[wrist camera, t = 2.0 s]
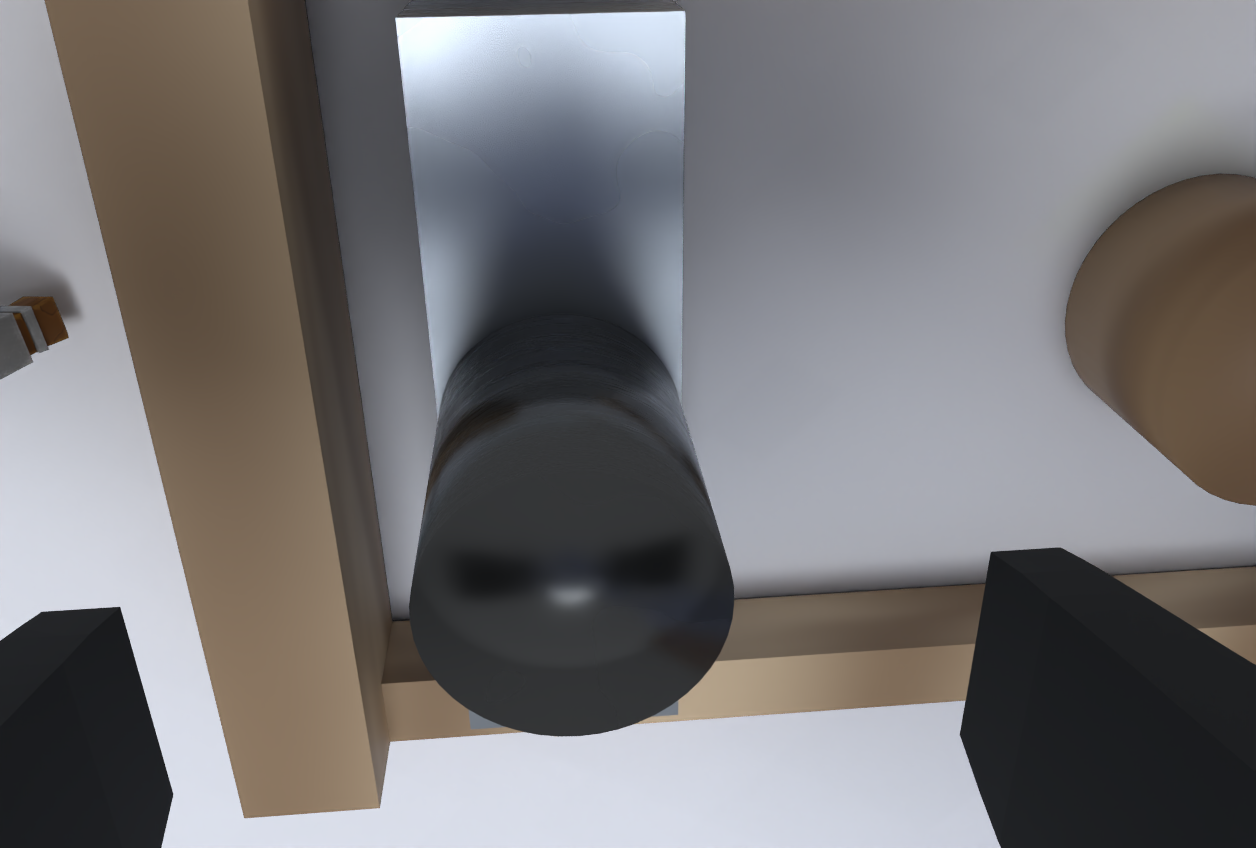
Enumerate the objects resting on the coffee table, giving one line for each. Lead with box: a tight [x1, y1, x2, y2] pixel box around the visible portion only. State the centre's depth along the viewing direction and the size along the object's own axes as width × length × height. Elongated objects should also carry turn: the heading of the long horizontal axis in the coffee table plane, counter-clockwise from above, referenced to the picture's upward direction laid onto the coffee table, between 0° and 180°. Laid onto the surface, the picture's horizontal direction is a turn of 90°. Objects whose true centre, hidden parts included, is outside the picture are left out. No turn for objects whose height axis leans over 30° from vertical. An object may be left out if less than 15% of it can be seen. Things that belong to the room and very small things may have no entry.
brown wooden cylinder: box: [1065, 174, 1256, 506], centre depth 16 cm, size 4×4×3 cm
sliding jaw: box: [395, 0, 734, 736], centre depth 13 cm, size 3×10×7 cm, turn 1°
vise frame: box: [45, 0, 1256, 818], centre depth 15 cm, size 21×13×3 cm, turn 91°
